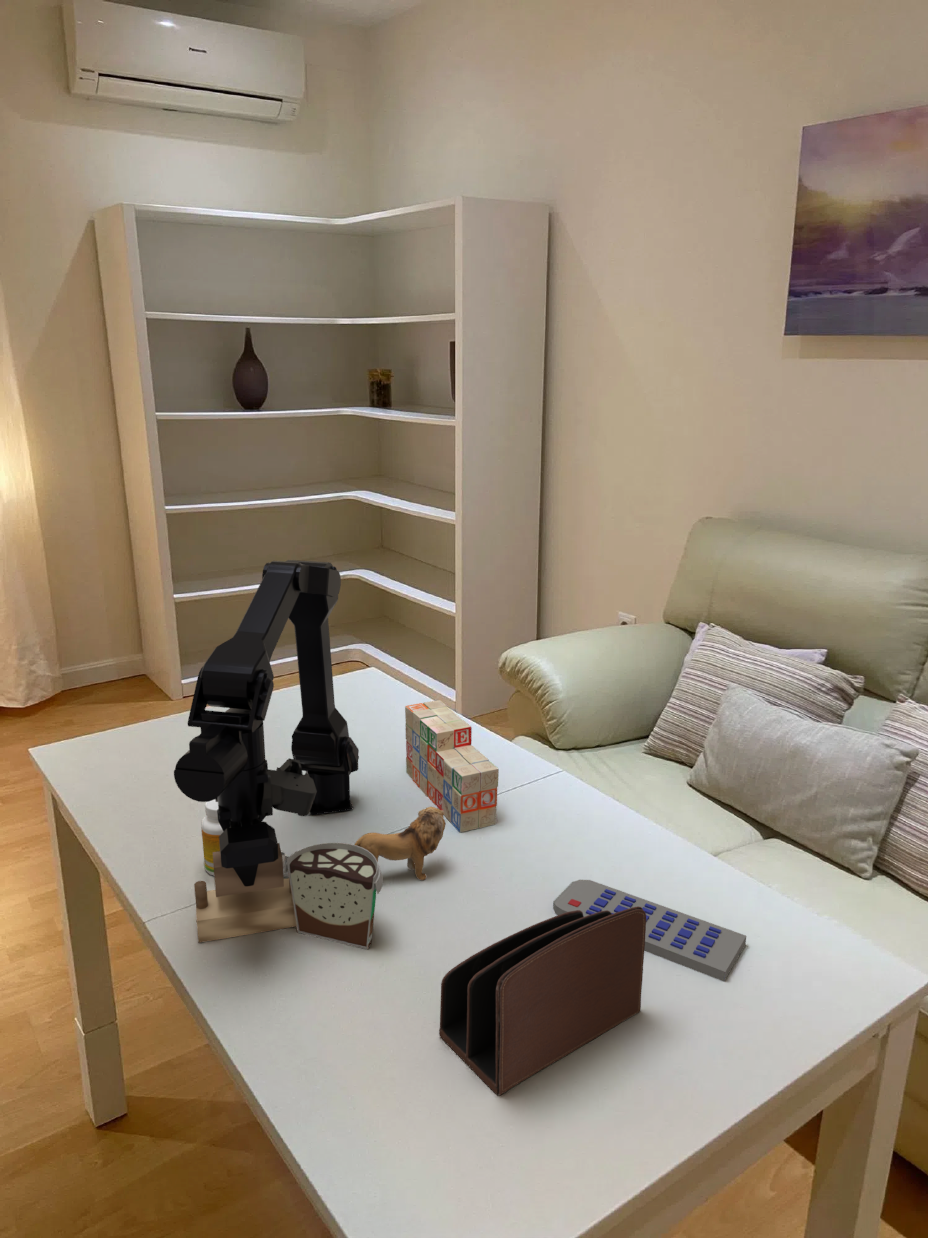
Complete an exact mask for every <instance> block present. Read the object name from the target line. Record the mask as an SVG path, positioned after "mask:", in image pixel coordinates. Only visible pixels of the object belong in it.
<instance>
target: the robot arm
mask: <svg viewBox="0 0 928 1238" xmlns="http://www.w3.org/2000/svg"><path fill="white" fill-rule="evenodd" d="M341 579H342V578H341V574H340V571H339V570H338V569H337V567H336V566H334V565H333V564H332V562H330V561H329V562H328V561H313V560H296V559H287V560H286V561H282V560H273V561H271V562H266V563H265V564H264V566H263V570H262V575H261V581H260V583H259V585H258V587H257V590H256V591H255V593H254V595H253V597H252V599H251V601H250V603H249V606H248V608H247V609H246V611H245V614H244V615H243V617H242V619H241V621H240V623H239V625H238V628H237V629H236V631H235V632H234V635H233V636H232V637H231V638H229V639H227V640H226V641H224V642H222V643H221V644H219V645H217V646H216V647H215V648H214V649H213V651H212V653H211V654H210V655H209V656H208V658H207V659H206V661H205V662H204V664H203V666H201V668H200V670H199V672H198V675H197V680H196V684H195V689H194V692H193V696H192V701H191V706H190V710H189V714H188V715H189V716H188V720H187V726H188V727H193V728H200V734H199V735H197V736H195V737H192V739H191V740H190V741H189V743H188V746H189V747H188V749H189V750H187V752H185V753H184V754H183V755H182V756H181V757H180V758H179V759H178V760H177V762H176V764H175V766H174V767H175V769H174V770H173V777H174V782H175V784H176V786H177V788H178V789H179V790H180V792H181V793H182V794H183V795H185V796H186V797H187V798H189V799H190V800H193V801H196V802H200V803H206V802H209V801H212V800H214V799H215V800H216V802H218V808H219V809H218V810H217V815H218V822H219V824H220V826H221V828H222V830H223V833H222V834H221V835H220V836H219V843H220V855H221V866H222V867H224V868H233V869H234V870H235V872H236V873H237V875H238V877H239V878H240V880H241V881H242V883H243V884H244V886H246V887H247V886H253V885H254V882H255V878H256V873H257V868H258V864H261V863H268V862H274V861H275V860H277V859H278V843H279V842H278V839H277V834H276V830H275V828H274V827H273V826H271V824H268V823H267V822H266V821H264V819H265V818H266V817H270V816H273V815H274V813H273V812H274V811H273V809H274V810H277V811H281V812H287V813H292V814H296V815H298V816H300V817H308V816H309V815H312V816H316V815H323V814H329V813H338V812H344V811H345V812H346V811H351V810H353V804H352V799H351V791H350V790H351V788H350V787H351V786H350V776H351V774H352V773H354V772H358V771H359V760H360V756H359V753H360V751H359V747H358V746H357V745H356V743H355V742H354V740H353V739H352V737H351V736H350V733H349V728H348V727H349V726H348V725H349V724H348V722H347V720H346V719H345V718H344V716H343V715H342V714H341V713H340V711H339V710H338V709H337V708H336V705H335V701H336V700H335V691H334V689H335V688H334V680H333V677H334V676H333V667H332V666H333V665H332V663H333V661H332V653H331V639H330V628H329V627H330V626H329V624H330V623H329V617H330V615H331V613H332V611H333V610H334V608H335V606H336V604H337V603H338V601H339V594H340V590H341V585H342V584H341V582H342V581H341ZM288 620H289V621H290V622H291V623H292V625H293V627H294V636H295V644H296V645H295V647H296V656H297V657H296V658H297V669H298V677H299V678H298V680H299V688H300V700H301V710H302V711H301V712H302V717H301V718H300V720H299V722H298V724H297V725H296V727H295V728H294V731H293V733H292V735H291V739H292V740H291V746H290V747H291V748H290V749H291V755H292V758H288V759H287V760H286V761H285V762H284V763H282V764H281V765H280V766H279V767H276V769H269V765H268V760H267V759H266V748H265V747H266V746H265V730H264V728H265V727H264V722H265V719H266V716H267V712H268V709H269V705H270V702H271V698H272V695H273V691H274V687H275V686H274V685H275V684H274V681H273V680H274V679H275V678H274V677H275V676H274V671H273V668H272V665H271V663H270V662H271V658H272V656H273V653H274V651H275V649H276V647H277V645H278V642H279V639H280V637H281V636H282V634H283V631H284V629H285V627H286V625H287V622H288ZM207 706H210V707H213V708H215V707H216V708H224V709H225V708H226V709H227V708H228V709H227V710H225V711H220V710H208V709H206V708H207ZM303 771H304V772H305V774H304V773H303Z"/></svg>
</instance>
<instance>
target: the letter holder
mask: <svg viewBox="0 0 928 1238" xmlns="http://www.w3.org/2000/svg"><path fill="white" fill-rule="evenodd" d="M645 933H646V913H645V911H644V910H643V909H642V908H641V907H639V906H638V907H632V908H629V909H626V910H623V911H620V912H617V913H614V914H612V913H611V912H610V911H608V910H606V911H601V912H597V913H594V914H591V915H588V916H585V917H584V916H583V912H582V911H580V910H576V911H570V912H566V913H563V914H560V915H556V916H553V917H552V916H551V917H550V918H548V919H547V918H546V919H545V920H542V921H540V922H538V923H535V924H532V925H530V926H528V927H526V928H523V929H521V930H519V931H517V932H515V933H513V934H511V935H509V936H507V937H504V938H503V939H501V940H498V941H496V942H495V943H492V944H491V945H489V946H486V947H485V948H483V949H482V950H480V951H478V952H476V953H474V954H472V955H471V956H469V957H467V958H466V959H464V960H463V961H461V962H459V963H458V964H457V965H455V966H454V967H453V968H451V969H450V970H449V971H448V972H447V973H445V975H444V976H443V978H442V980H441V983H440V1007H439V1008H440V1010H439V1011H440V1012H439V1015H440V1016H439V1030H438V1031H439V1032H438V1035H439V1037H440V1038H441V1039H442V1040H443V1041H444V1042H445V1043H446V1044H447V1046H448V1047H450V1048H451V1049H452V1050H453V1052H454V1053H455V1054H456V1055H457V1056H458V1057H460V1059H461V1060H462V1061H464V1063H465V1064H466V1065H467V1066H469V1068H470V1069H471V1070H472V1071H473V1072H474V1073H475V1075H476V1076H478V1077H479V1079H481V1080H482V1082H483V1083H484V1084H486V1085H487V1086H488V1087H489V1088H490V1090H492V1091H493V1092H494V1093H495V1095H497V1096H501V1095H503V1094H504V1093H506V1092H508V1091H509V1090H510V1089H512V1088H515V1086H517V1085H519V1084H520V1083H523V1081H525V1080H527V1079H529V1078H530V1077H532V1076H533V1075H535V1074H537V1073H538V1072H540V1071H541V1070H544V1069H545V1068H547V1067H549V1066H550V1065H552V1064H554V1063H556V1062H558V1061H559V1060H561V1059H563V1058H564V1057H566V1056H568V1055H569V1054H571V1053H573V1052H574V1051H576V1050H578V1049H580V1048H581V1047H583V1046H585V1045H587V1044H588V1043H590V1042H591V1041H594V1040H595V1039H596V1038H598V1037H600V1036H601V1035H604V1034H605V1033H607V1032H608V1031H610V1030H612V1029H613V1028H615V1027H617V1026H618V1025H620V1024H622V1023H623V1022H625V1021H627V1020H629V1019H631V1018H632V1017H634V1016H635V1015H637V1014H639V1013H641V1008H642V988H643V977H644V976H643V974H644V961H645V959H644V958H645V951H644V949H645Z"/></svg>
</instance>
